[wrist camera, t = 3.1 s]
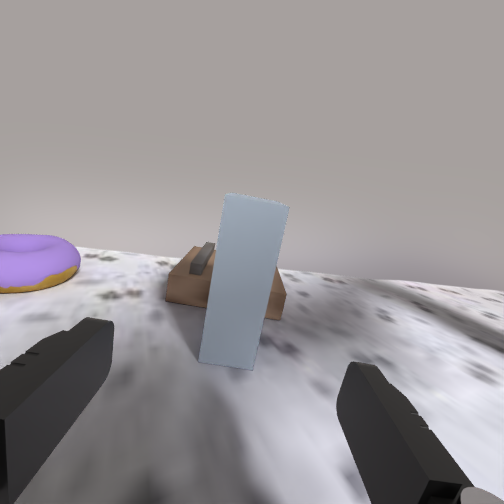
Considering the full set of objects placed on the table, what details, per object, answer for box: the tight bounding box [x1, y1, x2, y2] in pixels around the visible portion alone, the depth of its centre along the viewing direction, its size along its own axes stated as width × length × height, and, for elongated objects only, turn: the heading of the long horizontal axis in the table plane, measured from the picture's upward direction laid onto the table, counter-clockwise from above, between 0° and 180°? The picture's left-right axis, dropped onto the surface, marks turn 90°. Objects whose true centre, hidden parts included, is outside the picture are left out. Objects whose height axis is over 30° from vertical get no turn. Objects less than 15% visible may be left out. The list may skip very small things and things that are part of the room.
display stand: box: [166, 242, 287, 320], centre depth 31 cm, size 12×12×4 cm
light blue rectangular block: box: [198, 193, 289, 370], centre depth 20 cm, size 4×6×12 cm
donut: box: [0, 234, 81, 293], centre depth 25 cm, size 10×9×5 cm
